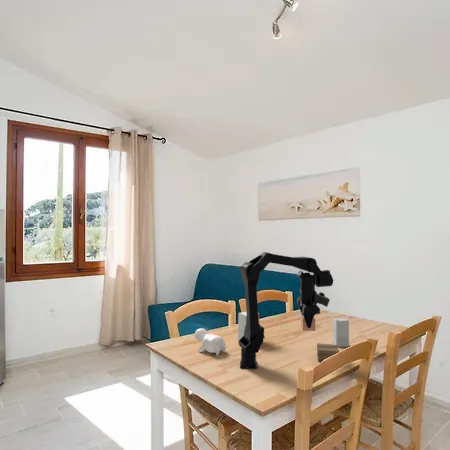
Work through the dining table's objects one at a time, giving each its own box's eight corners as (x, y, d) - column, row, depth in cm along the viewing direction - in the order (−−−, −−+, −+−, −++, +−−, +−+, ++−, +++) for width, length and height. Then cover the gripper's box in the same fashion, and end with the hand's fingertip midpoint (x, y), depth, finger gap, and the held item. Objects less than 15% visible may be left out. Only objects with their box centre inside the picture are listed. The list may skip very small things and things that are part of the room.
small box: (245, 344, 155) (246, 315, 155) (237, 340, 161) (237, 312, 161) (259, 340, 160) (259, 313, 160) (251, 337, 165) (251, 310, 165)
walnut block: (339, 364, 134) (339, 351, 134) (318, 362, 135) (318, 349, 135) (336, 356, 142) (336, 344, 142) (317, 355, 143) (317, 343, 143)
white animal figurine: (224, 357, 147) (199, 338, 155) (230, 340, 145) (205, 322, 153) (212, 363, 140) (187, 343, 148) (218, 346, 138) (193, 326, 146)
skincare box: (344, 343, 157) (345, 317, 157) (349, 347, 152) (349, 320, 152) (332, 344, 156) (332, 317, 156) (336, 347, 152) (336, 320, 152)
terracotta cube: (315, 330, 136) (315, 318, 136) (302, 330, 136) (302, 318, 136) (312, 327, 141) (312, 315, 141) (300, 326, 141) (300, 315, 141)
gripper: (333, 292, 129) (333, 333, 129) (322, 283, 147) (322, 319, 147) (303, 292, 129) (304, 333, 129) (296, 283, 148) (297, 319, 148)
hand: (307, 325), depth 138 cm, fingers closed on terracotta cube, 5 cm apart
